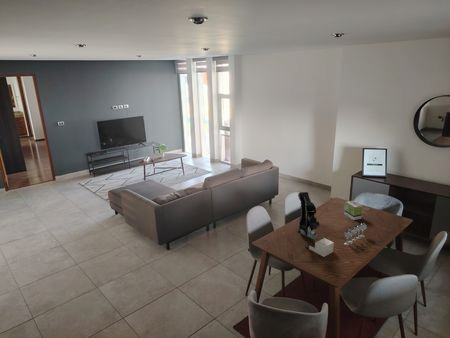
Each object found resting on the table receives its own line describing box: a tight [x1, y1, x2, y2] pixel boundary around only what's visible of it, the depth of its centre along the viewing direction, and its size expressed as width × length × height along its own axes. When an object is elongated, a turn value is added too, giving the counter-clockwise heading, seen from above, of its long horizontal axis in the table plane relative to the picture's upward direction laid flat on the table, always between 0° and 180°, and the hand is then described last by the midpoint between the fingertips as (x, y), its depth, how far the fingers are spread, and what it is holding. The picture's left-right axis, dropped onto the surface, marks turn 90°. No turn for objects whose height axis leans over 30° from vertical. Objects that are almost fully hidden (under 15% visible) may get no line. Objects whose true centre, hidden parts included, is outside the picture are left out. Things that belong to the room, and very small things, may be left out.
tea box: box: [343, 200, 363, 221], centre depth 317 cm, size 15×10×15 cm
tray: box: [299, 228, 319, 240], centre depth 268 cm, size 14×6×6 cm, turn 35°
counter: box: [308, 237, 335, 258], centre depth 259 cm, size 15×12×9 cm
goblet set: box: [343, 222, 368, 246], centre depth 274 cm, size 28×6×13 cm, turn 124°
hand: (308, 234), depth 269 cm, fingers closed on tray, 6 cm apart
